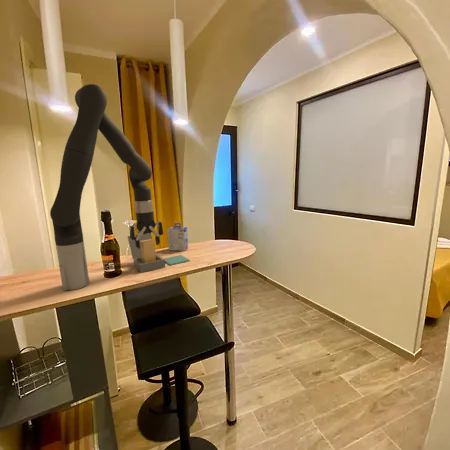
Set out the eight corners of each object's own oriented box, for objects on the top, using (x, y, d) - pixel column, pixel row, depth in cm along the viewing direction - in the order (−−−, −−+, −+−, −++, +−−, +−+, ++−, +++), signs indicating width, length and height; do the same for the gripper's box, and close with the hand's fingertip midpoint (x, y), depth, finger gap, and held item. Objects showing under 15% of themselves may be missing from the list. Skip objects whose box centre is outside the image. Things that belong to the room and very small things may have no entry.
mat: (170, 265, 125) (170, 264, 125) (162, 260, 133) (162, 258, 133) (189, 261, 130) (189, 259, 130) (181, 256, 138) (181, 254, 138)
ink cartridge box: (188, 248, 152) (187, 222, 149) (185, 251, 147) (183, 224, 144) (172, 247, 154) (170, 222, 151) (168, 250, 149) (166, 224, 146)
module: (145, 269, 121) (143, 243, 119) (142, 266, 125) (139, 241, 123) (156, 266, 124) (154, 241, 122) (153, 263, 128) (150, 239, 126)
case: (141, 272, 117) (140, 264, 117) (134, 265, 126) (133, 258, 126) (165, 267, 123) (164, 259, 122) (157, 260, 132) (156, 253, 132)
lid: (127, 235, 129) (127, 237, 130) (133, 258, 126) (132, 259, 127) (150, 232, 135) (149, 233, 136) (156, 253, 132) (155, 254, 133)
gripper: (130, 213, 113) (134, 251, 116) (163, 209, 120) (166, 245, 124) (125, 211, 119) (130, 247, 122) (157, 208, 126) (160, 241, 130)
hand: (148, 246), depth 123 cm, fingers open, 8 cm apart
